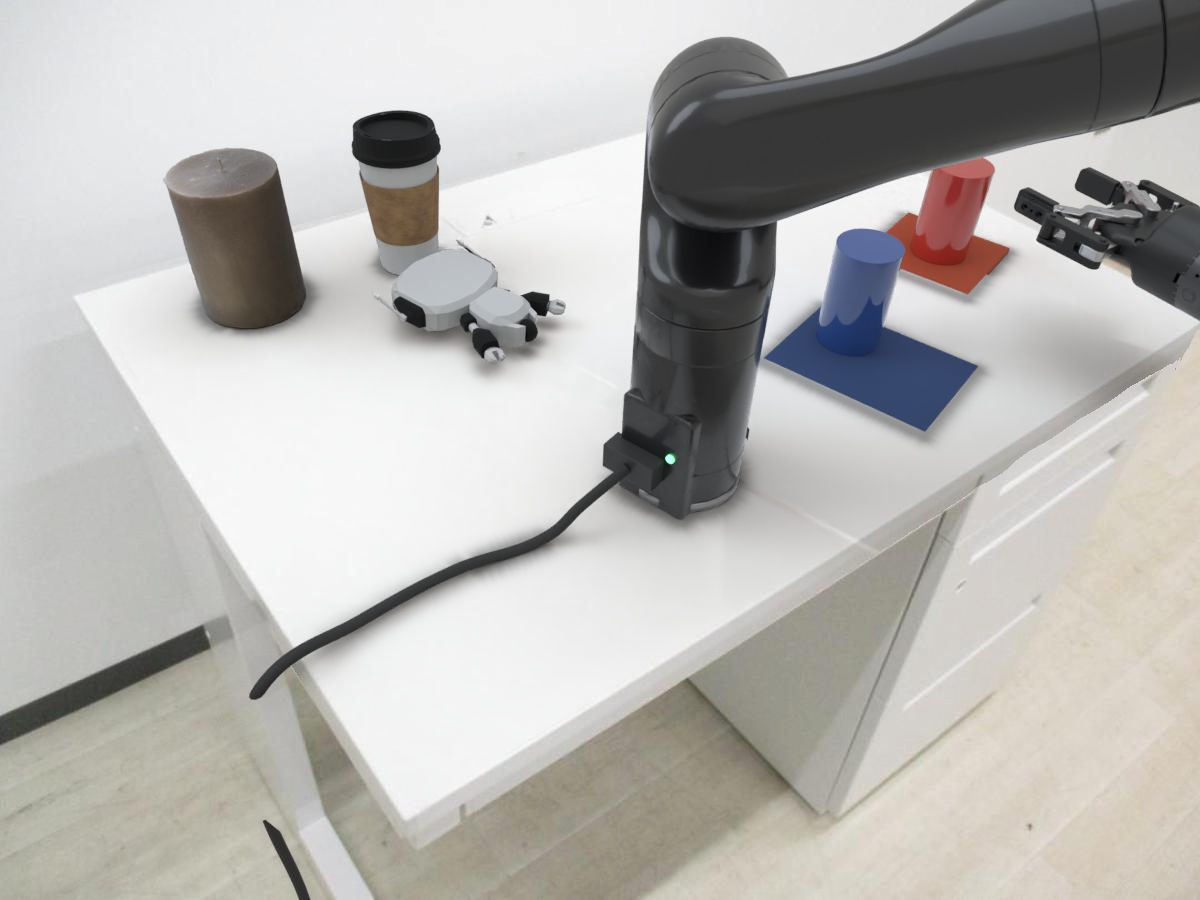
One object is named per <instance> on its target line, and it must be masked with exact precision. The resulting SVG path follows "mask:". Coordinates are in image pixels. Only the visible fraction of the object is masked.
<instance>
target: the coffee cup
mask: <svg viewBox="0 0 1200 900" xmlns="http://www.w3.org/2000/svg"><path fill="white" fill-rule="evenodd" d="M441 150H442V145H441V139H440V137H439V134H438V133H437V130H436V125H435V122H434V120H433V119H432V118H431V117H430V116H428V115H426V114H424V113H422V112H417V111H412V110H405V109H404V110H401V109H400V110H399V109H397V110H396V109H395V110H386V111H380V112H374V113H372V114H368V115H365V116H363V117H361V118H359V119H357V120H355V122H353V124H352V141H351V154H352V156H353V158H354V159H355V160H357V161H358V166H359V170H358V175H359V179H360V183H361V188H362V191H363V195H364V199H365V203H366V207H367V211H368V215H369V218H370V223H371V226H372V230H373V231H372V232H373V234H374V237H375V241H376V245H377V249H378V250H377V251H378V255H379V258H380V262H381V265H382V267H383V269H385V270H386V271H387V272H389V273H390V274H393V275H395V276H396V275H397V276H399V275H400V274H401V273H402V272H403V271H405V270H406V269H407V268H408V267H409V266H410V265H412V264H413V263H415V262H416V261H418V260H420V259H423V258H425V257H427V256H429V255H431V254H434V253H437V252H439V227H440V226H439V222H440V221H439V220H440V218H439V217H440V215H439V214H440V212H439V211H440V166H439V164H438V155H440V152H441Z"/></svg>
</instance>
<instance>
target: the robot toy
mask: <svg viewBox="0 0 1200 900" xmlns="http://www.w3.org/2000/svg"><path fill="white" fill-rule="evenodd" d="M455 240H456V243H457V245H459V246H460V248H451V249H450V248H449V249H448V248H447V249H444V250H441V251H438V252H437V253H434V254H431V255H429V256H427V257H425V258H423V259H420V260H418V261H416V262H415V263H413V264H412V265H410V266H409V267H408V268H407V269H406V270H405V271H403V272H402V273H401V274H400V275H397V277H396V278H395V280H394V281H393V282H392V285H391V290H390V292H391V302H392V303H391V304H392V305H391V304H390V303H388V302H387V301H385V300H384V299H383V297H381V295H380V294H378V293H377V292H371V295H372V297H373V298H374V299H375V300H376V301H379V302H380V303H381V304H382V305H384V306H385V307H386V308H387V309H388V310H390V311H391V312H392V313H393V314H394V315H395V316H397V317H398V319H399V320H400V322H402V323H408V324H410V325H412V326H414V327H416V328H417V329H422V330H424V331H427V332H442V331H443V332H445V331H448V330H450V329H453V328H456V327H458V326H461V328H462V329H463V330H464V332H466V333H471V343H472V345H473V346H472V347H473V349H474V350H475V351H476V352H477V353H478V355H479V356H480V358H481V359H484V360H485V361H486V362H487V363H489V364H490V365H494V364H497V363H498V362H499V363H501V362H503V361H504V360H505V358H506V355H505V352H504V350H503V349H502V348H500V347H505V346H506V347H510V348H514V349H518V348H522V347H525V346H526V343H530V342H534V340H536V339H537V337H538V334H539V330H538V329H539V328H538V327H537V322H538V321H537V320H538V319H537V318H538V316H539V317H546V318H547V315H548V313H550V314H552V315H553V316H561V315H563V314H564V313H565V310H566V308H567V307H566V306H567V304H566V302H565V301H564V300H561V299H559V298H558V299H552V300H550V294H549V293H544V292H538V291H533V290H532V291H529V292H526V293H523V294H521V295H520V294H517V293H515V292H512V291H511V289H505V288H500V287H498V285H499V283H498V282H499V281H498V280H499V278H498V277H499V275H498V274H499V272H498V270H497V269H496V266H495V264H493V262H492V261H490V260H488V259H487V258H486V257H482V256H481V255H479V254H478V253H477V252H476V251H475V250H473V249H471V248H470V247H469V246H468V245H467V244H465V243H464V241H463V240H461V239H455ZM461 247H462V248H461ZM497 361H498V362H497Z"/></svg>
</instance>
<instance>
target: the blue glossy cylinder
mask: <svg viewBox="0 0 1200 900" xmlns="http://www.w3.org/2000/svg"><path fill="white" fill-rule="evenodd" d="M832 253H833V254H832V258H831V262H830V267H829V271H828V276H827V280H826V285H825V287H824V288H825V289H824V293H823V298H822V302H821V306H820V307H821V311H820V315H819V319H818V324H817V328H816V337H817V340H818V341H819V342H820V344H821V345H822V346H824V347H825V348H827V349H828V350H830V351H832V352H835V353H838V354H841V355H846V356H863V355H867V354H870V353H872V352H873V351H875V350H876V349H877V347H878V345H879V342H880V339H881V335H882V331H883V328H884V327H885V324H886V321H887V317H888V313H889V310H890V307H891V303H892V299H893V297H894V292H895V289H896V286H897V281H898V279H899V275H900V272H901V269H900V268H901V265H902V261H903V258H904V254H905V248H904V245H903V244H902V243H901V242H900V241H899V240H898V239H897V238H895V237H894V236H892V235H890V234H888V233H886V232H885V231H882V230H878V229H872V228H852V229H848V230H845V231H843V232H842V233H840V234H839V235H838V236H837V238H836V240H835V245H834V249H833V252H832Z"/></svg>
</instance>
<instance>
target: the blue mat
mask: <svg viewBox="0 0 1200 900" xmlns="http://www.w3.org/2000/svg"><path fill="white" fill-rule="evenodd" d="M820 311H821V306H819V308H817V309H816V310H815V311H814V312H813V313H812V314H811V315H809V316H808V317H807V318H806V319H805V320H804V321H803V322H801V324H800V325H799V326H797V327H796V328H795V329H794V330H793V331H792V332H791V333H789V335H787V336H786V337H785V338H784V339H783V340H782V341H781V342H779V343H778V344H777V345H776V346H775V347H774V348H773V349H772V350H771V351H770V352H768V353H767V354H766V355H765V356H764V357H763V359H764V360H767V361H769V362H771V363H774V364H775V365H777V366H780V367H782V368H784V369H787V370H789V371H791V372H793V373H795V374H797V375H799V376H802V377H803V378H806V379H809V380H811V381H813V382H815V383H817V384H820V385H821V386H824V387H826V388H828V389H830V390H832V391H835V392H837V393H839V394H841V395H843V396H846V397H848V398H850V399H852V400H854V401H856V402H859V403H861V404H864V406H865V405H866V406H868V407H869V408H872V409H873V410H876V411H878V412H880V413H882V414H885V415H887V416H889V417H892V418H894V419H895V420H898V421H901V422H902V423H905V424H907V425H909V426H911V427H913V428H915V429H918V430H920V431H922V432H924V433H925V432H926V431H927V430H928V429H929V428H930V426H932V424H933V423H934V421H935V420H936V419H937V418H938V417H939V416H940V414H941V413H942V412H943V410H944V409H945V408H946V407H947V406H948V404H949V403H950V402H951V400H952V399H953V398H954V397H955V396H956V394H957V393H958V392H959V391H960V390H961V388H962V387H963V386H964V384H965V383H966V382H967V381H968V380H969V379H970V377H971V376H972V375H973V373H975V372H976V370H977V368H979V365H977V364H975V363H972V362H970V361H968V360H965V359H962V358H960V357H957V356H955V355H953V354H950V353H949V352H946V351H943V350H941V349H938V348H937V347H934V346H931V345H929V344H927V343H924V342H922V341H919V340H917V339H914V338H912V337H910V336H907V335H905V334H902V333H899V332H898V331H895V330H893V329H890V328H888V327H885V326H884V328H883V331H882V335H881V339H880V342H879V345H878V347H877V349H876V350H875V351H873V352H872V353H870V354H867V355H863V356H846V355H841V354H838V353H835V352H832V351H830V350H828V349H827V348H825V347H824V346H822V345H821V344H820V342H819V341H818V340H817V337H816V328H817V324H818V319H819V315H820Z"/></svg>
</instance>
